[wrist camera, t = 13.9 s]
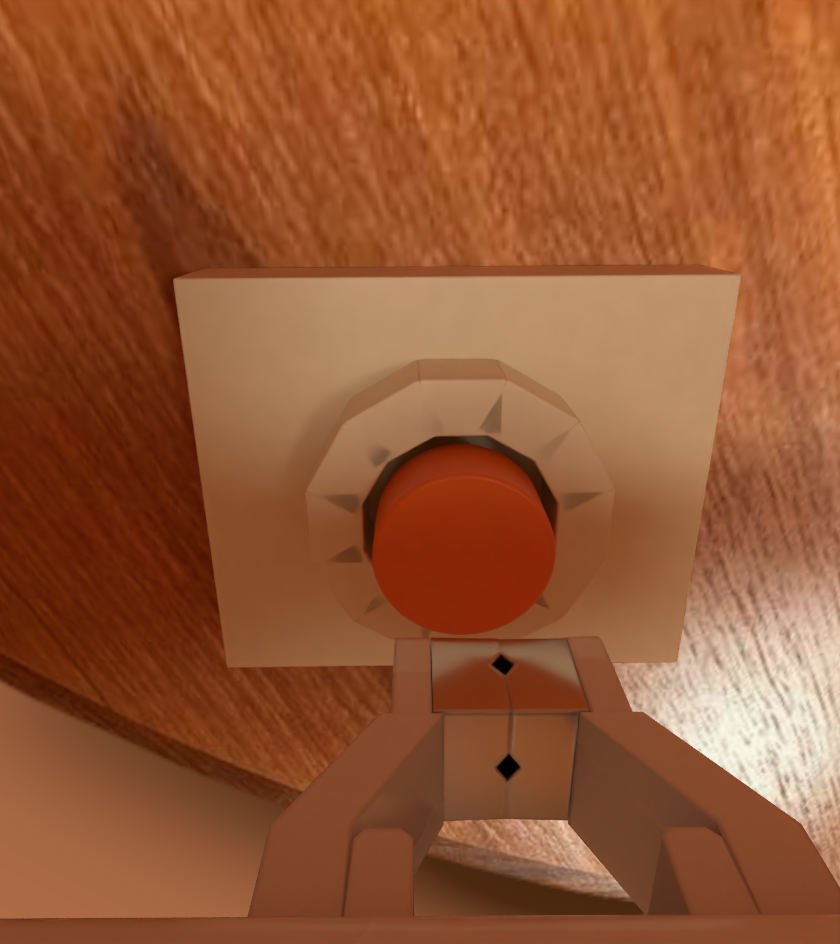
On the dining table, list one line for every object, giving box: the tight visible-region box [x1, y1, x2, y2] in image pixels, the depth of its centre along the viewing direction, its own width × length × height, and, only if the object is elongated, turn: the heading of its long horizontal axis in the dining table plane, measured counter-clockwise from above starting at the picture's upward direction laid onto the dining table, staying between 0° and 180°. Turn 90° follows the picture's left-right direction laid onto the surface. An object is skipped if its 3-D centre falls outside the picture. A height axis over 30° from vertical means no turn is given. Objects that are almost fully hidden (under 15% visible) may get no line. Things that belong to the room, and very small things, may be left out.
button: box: [372, 444, 556, 635], centre depth 14 cm, size 4×4×2 cm
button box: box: [173, 265, 741, 667], centre depth 16 cm, size 12×10×4 cm
